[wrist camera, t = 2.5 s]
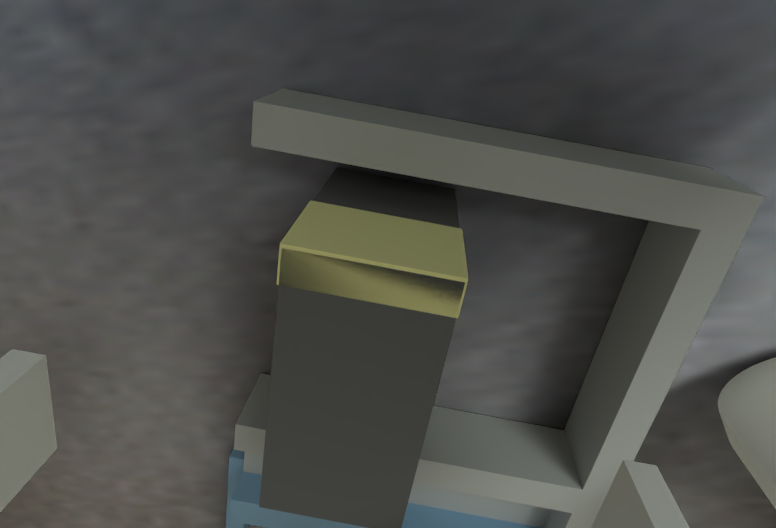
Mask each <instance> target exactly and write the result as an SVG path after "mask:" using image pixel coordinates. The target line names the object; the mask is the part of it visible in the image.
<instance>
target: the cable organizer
mask: <svg viewBox="0 0 776 528" xmlns="http://www.w3.org/2000/svg"><path fill="white" fill-rule="evenodd" d="M718 410H719V413H720V416H721V419H722V422H723V425H724V428H725V430H726V433H727V436H728V439H729V442H730V444H731V446H732V448H733V449H734V450H735V452H736V453H737V455H738V456H739V458H740V459H741V461H742V462H743V463H744V465H745V466H746V468H747V469H748V471H749V472H750V473H751V475H752V476H753V478H754V479H755V481H756V482H757V483H758V485H759V486H760V488H761V489H762V491H763V492H764V493H765V495H766V496H767V498H768V499H769V501H770V502H771V503H772V505H773V506H774V508H775V509H776V357H775V358H772V359H769V360H766V361H763V362H760V363H758V364H755V365H753V366H751V367H749V368H747V369H746V370H744V371H742V372H740V373H739V374H738V375H736V376H735V377H733V378H732V379H731V380H730V381H729V382H728V383H727V384H726V385H725V386H724V388H723V389H722V391H721V393H720V395H719V398H718Z"/></svg>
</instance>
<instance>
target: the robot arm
mask: <svg viewBox="0 0 776 528" xmlns="http://www.w3.org/2000/svg"><path fill="white" fill-rule="evenodd" d="M56 449H57V441H56V432H55V424H54V416H53V407H52V399H51V391H50V383H49V374H48V366H47V358H46V355H43V354H37V353H32V352H26V351H20V350H15V349H12V350H10V351H9V352H8V353H6V354H5V355H4V356H3V357H1V358H0V512H1V511H2V510H3V509H4V508H5V507H6V506H7V505H8V503H9V502H10V501H11V500H12V499H13V498H14V497H15V496H16V494H17V493H18V492H19V491H20V490H21V489H22V488H23V487H24V485H25V484H26V483H27V482H28V481H29V480H30V479H31V478H32V476H33V475H34V474H35V473H36V472H37V471H38V470H39V469H40V467H41V466H42V465H43V464H44V463H45V462H46V461H47V459H48V458H49V457H50V456H51V455H52V454H53V453H54V452H55V450H56ZM591 528H689V526H688V524H687V522H686V520H685V518H684V516H683V514H682V513H681V511H680V509H679V507H678V505H677V503H676V501H675V499H674V497H673V496H672V494H671V492H670V490H669V488H668V486H667V484H666V482H665V480H664V479H663V477H662V475H661V473H660V471H659V469H658V467H657V465H651V464H646V463H640V462H635V461H629V460H624V459H623V461H622V463H621V465H620V467H619V469H618V472H617V474H616V476H615V478H614V480H613V482H612V484H611V487H610V489H609V491H608V493H607V495H606V497H605V499H604V501H603V504H602V506H601V508H600V510H599V512H598V514H597V516H596V519H595V521H594V523H593V525H592V527H591Z"/></svg>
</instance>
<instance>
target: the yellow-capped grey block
mask: <svg viewBox="0 0 776 528" xmlns="http://www.w3.org/2000/svg"><path fill="white" fill-rule="evenodd" d="M468 279H469V278H468V270H467V262H466V254H465V247H464V239H463V231H462V229H461V228H459V223H458V214H457V205H456V196H455V189H451V188H446V187H441V186H435V185H430V184H425V183H419V182H414V181H409V180H403V179H398V178H392V177H387V176H382V175H376V174H371V173H366V172H360V171H355V170H350V169H344V168H339V167H337V168H336V169H335V171H334V172H333V174H332V175H331V177H330V178H329V180H328V181H327V183H326V184H325V185H324V187H323V188H322V190H321V191H320V193H319V194H318V196H317V197H316V199H315V200H314V201H311V200H310V201H309V203H308V204H307V206H306V207H305V208H304V210H303V211H302V213H301V214H300V216H299V217H298V218H297V220H296V221H295V223H294V224H293V225H292V227H291V228H290V230H289V231H288V232H287V234H286V235H285V237H284V238H283V240H282V241H281V242H280V247H279V259H278V270H277V282H276V284H278V296H277V308H276V319H275V330H274V342H273V353H272V365H271V376H270V387H269V399H268V410H267V421H266V433H265V444H264V455H263V467H262V478H261V490H260V501H259V507H261V508H267V509H272V510H277V511H282V512H288V513H293V514H298V515H303V516H309V517H314V518H319V519H324V520H330V521H335V522H340V523H345V524H351V525H356V526H361V527H366V528H402V524H403V520H404V516H405V512H406V508H407V505H408V501H409V497H410V493H411V489H412V485H413V482H414V478H415V474H416V470H417V466H418V462H419V458H420V455H421V451H422V447H423V443H424V439H425V435H426V432H427V428H428V424H429V420H430V416H431V412H432V408H433V405H434V401H435V397H436V393H437V389H438V385H439V382H440V378H441V374H442V370H443V366H444V362H445V358H446V355H447V351H448V347H449V343H450V339H451V335H452V332H453V328H454V324H455V320H456V318H458V317H459V314H460V310H461V306H462V302H463V298H464V295H465V291H466V287H467V283H468Z"/></svg>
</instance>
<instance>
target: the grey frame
mask: <svg viewBox="0 0 776 528" xmlns="http://www.w3.org/2000/svg"><path fill="white" fill-rule="evenodd" d="M251 146H253V147H259V148H264V149H269V150H275V151H280V152H285V153H291V154H296V155H301V156H307V157H312V158H317V159H323V160H328V161H334V162H339V163H344V164H350V165H355V166H360V167H366V168H371V169H376V170H382V171H387V172H392V173H398V174H403V175H409V176H414V177H419V178H425V179H430V180H435V181H441V182H446V183H451V184H457V185H462V186H467V187H473V188H478V189H484V190H489V191H494V192H500V193H505V194H510V195H516V196H521V197H526V198H532V199H537V200H542V201H548V202H553V203H559V204H564V205H569V206H575V207H580V208H585V209H591V210H596V211H601V212H607V213H612V214H617V215H623V216H628V217H634V218H639V219H644V220H649V222H648V224H647V227H646V229H645V232H644V234H643V237H642V239H641V241H640V244H639V246H638V249H637V251H636V254H635V256H634V259H633V261H632V264H631V266H630V269H629V271H628V274H627V276H626V278H625V281H624V283H623V286H622V288H621V291H620V293H619V296H618V298H617V301H616V303H615V306H614V308H613V310H612V313H611V315H610V318H609V320H608V323H607V325H606V328H605V330H604V333H603V335H602V338H601V340H600V343H599V345H598V347H597V350H596V352H595V355H594V357H593V360H592V362H591V365H590V367H589V370H588V372H587V375H586V377H585V379H584V382H583V384H582V387H581V389H580V392H579V394H578V397H577V399H576V402H575V404H574V407H573V409H572V412H571V414H570V416H569V419H568V421H567V424H566V426H565V429H564V430H560V429H555V428H549V427H544V426H539V425H534V424H528V423H523V422H518V421H512V420H507V419H502V418H496V417H491V416H486V415H480V414H475V413H470V412H464V411H459V410H454V409H448V408H443V407H438V406H433V408H432V412H431V416H430V420H429V424H428V428H427V432H426V435H425V439H424V443H423V447H422V451H421V455H420V458H419V462H418V466H417V470H416V474H415V478H414V482H413V485H412V489H411V493H410V497H409V501H408V505H407V508H406V512H405V516H404V520H403V524H402V528H591V527H592V525H593V523H594V521H595V519H596V516H597V514H598V512H599V510H600V508H601V506H602V504H603V501H604V499H605V497H606V495H607V493H608V491H609V489H610V487H611V484H612V482H613V480H614V478H615V476H616V474H617V472H618V469H619V467H620V465H621V463H622V461H623V459H624V460H629V461H634V459H635V457H636V455H637V453H638V451H639V449H640V447H641V445H642V443H643V441H644V439H645V437H646V435H647V433H648V431H649V429H650V427H651V425H652V423H653V421H654V419H655V417H656V415H657V413H658V411H659V409H660V407H661V405H662V403H663V401H664V399H665V397H666V395H667V393H668V391H669V389H670V387H671V385H672V383H673V381H674V379H675V377H676V375H677V373H678V371H679V369H680V367H681V365H682V362H683V360H684V358H685V356H686V354H687V352H688V350H689V348H690V346H691V344H692V342H693V340H694V338H695V336H696V334H697V332H698V330H699V328H700V326H701V324H702V322H703V320H704V318H705V316H706V314H707V312H708V310H709V308H710V306H711V304H712V302H713V300H714V298H715V296H716V294H717V292H718V290H719V288H720V286H721V284H722V282H723V280H724V278H725V276H726V274H727V272H728V270H729V268H730V266H731V264H732V262H733V260H734V258H735V256H736V254H737V252H738V250H739V248H740V246H741V244H742V242H743V240H744V238H745V236H746V234H747V231H748V229H749V227H750V225H751V223H752V221H753V219H754V217H755V215H756V213H757V211H758V209H759V207H760V205H761V203H762V201H763V199H764V197H765V196H763V195H761V194H759V193H757V192H755V191H753V190H751V189H750V188H748V187H746V186H744V185H742V184H740V183H738V182H736V181H734V180H732V179H731V178H729V177H727V176H725V175H723V174H721V173H719V172H717V171H715V170H714V169H712V168H708V167H703V166H697V165H692V164H687V163H681V162H676V161H670V160H665V159H660V158H654V157H649V156H644V155H638V154H633V153H627V152H622V151H617V150H611V149H606V148H601V147H595V146H590V145H584V144H579V143H574V142H568V141H563V140H558V139H552V138H547V137H542V136H536V135H531V134H525V133H520V132H515V131H509V130H504V129H499V128H493V127H488V126H482V125H477V124H472V123H466V122H461V121H456V120H450V119H445V118H439V117H434V116H429V115H423V114H418V113H413V112H407V111H402V110H397V109H391V108H386V107H380V106H375V105H370V104H364V103H359V102H354V101H348V100H343V99H337V98H332V97H327V96H321V95H316V94H311V93H305V92H300V91H294V90H289V89H284V88H283V89H281V90H278V91H276V92H274V93H271V94H269V95H267V96H264V97H262V98H260V99H257V100H255V101H253V117H252V135H251ZM270 376H271V375H268V374H262V373H261V374H260V376H259V378H258V380H257V382H256V384H255V386H254V388H253V390H252V392H251V394H250V396H249V398H248V400H247V402H246V404H245V406H244V408H243V410H242V412H241V414H240V416H239V418H238V420H237V422H236V424H235V441H234V448H233V450H232V452H231V454H230V456H229V472H228V491H227V511H226V528H249V525H255V526H260V527H265V528H366V527H361V526H356V525H351V524H345V523H340V522H335V521H330V520H324V519H319V518H314V517H309V516H303V515H298V514H293V513H288V512H282V511H277V510H272V509H267V508H261V507H259V501H260V490H261V478H262V467H263V455H264V444H265V433H266V421H267V410H268V399H269V387H270Z"/></svg>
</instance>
